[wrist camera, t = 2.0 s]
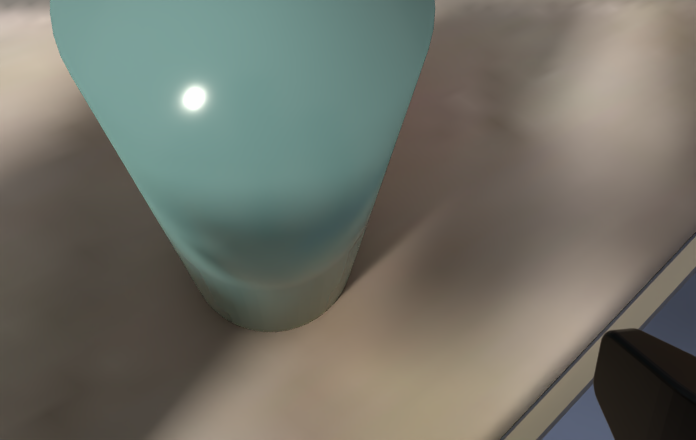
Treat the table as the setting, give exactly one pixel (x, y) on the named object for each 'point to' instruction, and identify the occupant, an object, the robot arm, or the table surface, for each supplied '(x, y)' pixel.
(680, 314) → the book
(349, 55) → the teal smooth upright cylinder
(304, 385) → the table surface
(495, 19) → the table surface
